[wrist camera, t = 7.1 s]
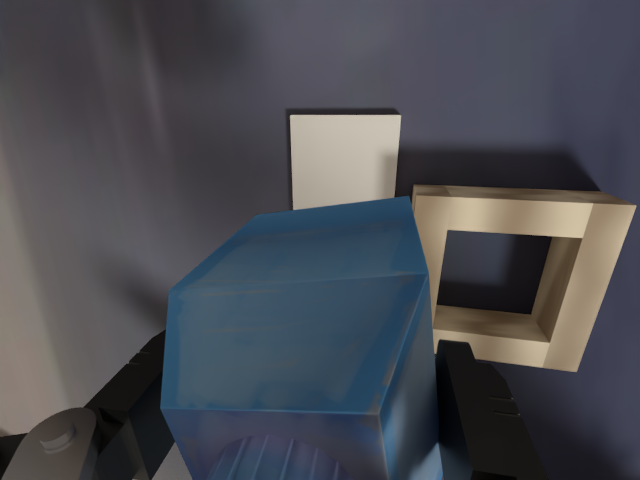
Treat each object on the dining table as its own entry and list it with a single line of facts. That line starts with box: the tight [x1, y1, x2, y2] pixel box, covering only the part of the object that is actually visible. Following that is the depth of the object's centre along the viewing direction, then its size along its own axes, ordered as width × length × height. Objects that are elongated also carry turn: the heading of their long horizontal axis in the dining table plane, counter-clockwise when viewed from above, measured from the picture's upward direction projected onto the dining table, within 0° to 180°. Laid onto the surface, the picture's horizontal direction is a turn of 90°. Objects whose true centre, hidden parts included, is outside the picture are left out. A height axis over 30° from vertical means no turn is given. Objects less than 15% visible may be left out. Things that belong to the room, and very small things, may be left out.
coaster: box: [290, 115, 401, 210], centre depth 28 cm, size 9×9×1 cm
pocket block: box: [411, 184, 637, 372], centre depth 27 cm, size 14×14×4 cm
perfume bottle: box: [160, 196, 443, 480], centre depth 9 cm, size 6×6×12 cm
